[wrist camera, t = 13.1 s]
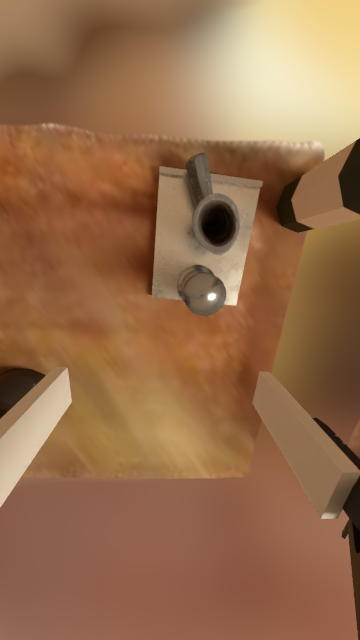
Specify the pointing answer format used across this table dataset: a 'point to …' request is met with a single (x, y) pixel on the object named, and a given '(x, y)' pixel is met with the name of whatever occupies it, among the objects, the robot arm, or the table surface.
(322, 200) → the wine bottle
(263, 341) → the table surface
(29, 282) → the table surface
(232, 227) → the pipe
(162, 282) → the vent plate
